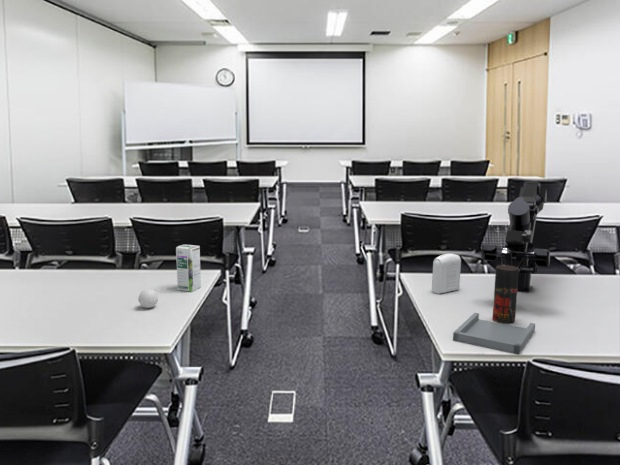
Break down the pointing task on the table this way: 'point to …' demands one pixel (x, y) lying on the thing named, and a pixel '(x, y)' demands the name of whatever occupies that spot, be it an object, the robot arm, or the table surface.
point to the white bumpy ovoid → (148, 298)
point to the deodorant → (505, 294)
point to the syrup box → (188, 267)
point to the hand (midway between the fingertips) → (510, 279)
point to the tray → (493, 334)
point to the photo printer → (446, 273)
